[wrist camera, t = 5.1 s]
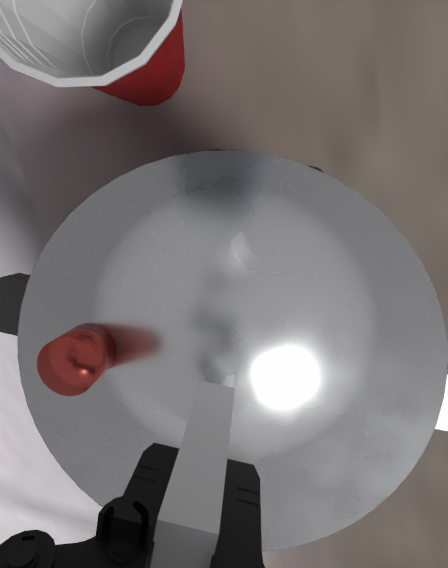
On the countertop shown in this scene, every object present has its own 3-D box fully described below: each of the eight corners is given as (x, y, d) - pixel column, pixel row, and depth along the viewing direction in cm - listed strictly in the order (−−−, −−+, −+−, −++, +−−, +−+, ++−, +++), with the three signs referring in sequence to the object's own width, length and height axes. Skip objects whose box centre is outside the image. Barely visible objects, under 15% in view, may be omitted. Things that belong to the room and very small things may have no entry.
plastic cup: (175, 170, 26) (110, 133, 14) (59, 95, 26) (-104, -6, 14) (249, 37, 24) (244, -139, 12) (122, -48, 23) (-11, -316, 12)
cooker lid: (53, 121, 14) (-9, 90, 11) (490, 203, 13) (572, 197, 10) (22, 536, 19) (-28, 605, 16) (343, 617, 18) (364, 709, 15)
